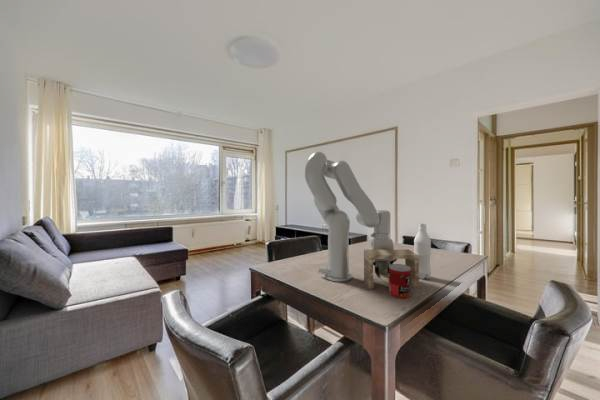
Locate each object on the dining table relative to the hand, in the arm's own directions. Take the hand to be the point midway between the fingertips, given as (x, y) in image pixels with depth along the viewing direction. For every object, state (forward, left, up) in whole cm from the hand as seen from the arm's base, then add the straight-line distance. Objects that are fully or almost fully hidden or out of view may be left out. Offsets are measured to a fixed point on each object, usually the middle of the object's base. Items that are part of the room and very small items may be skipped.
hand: (382, 274), depth 117 cm
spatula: (0, -8, -1) cm, 8 cm away
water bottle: (+18, -2, -1) cm, 18 cm away
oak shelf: (0, -11, -1) cm, 11 cm away
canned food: (0, -22, -1) cm, 22 cm away
